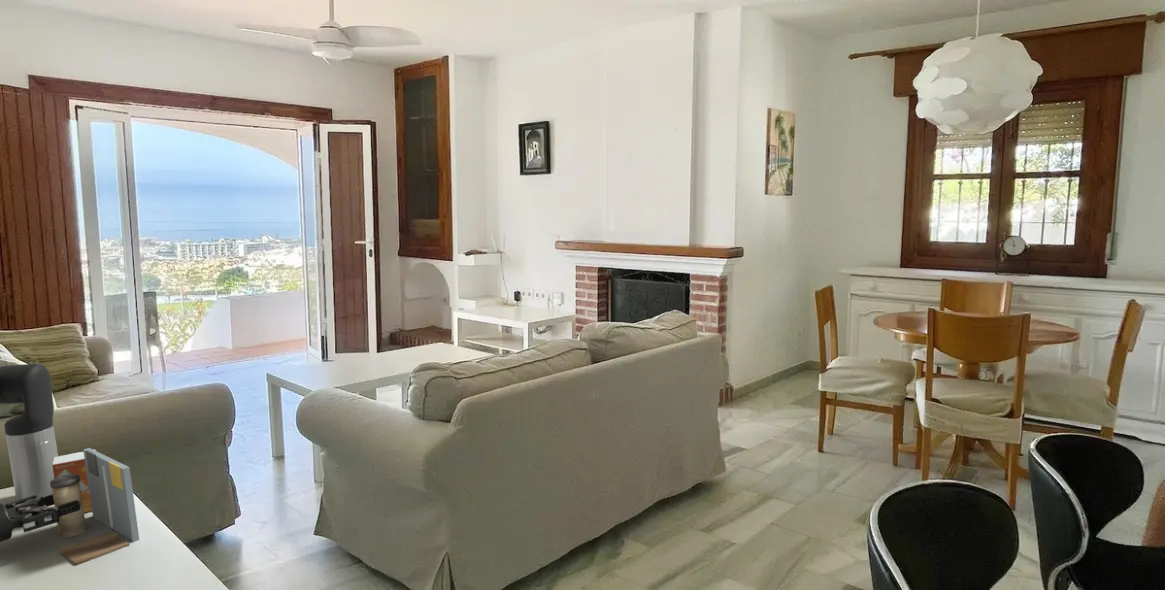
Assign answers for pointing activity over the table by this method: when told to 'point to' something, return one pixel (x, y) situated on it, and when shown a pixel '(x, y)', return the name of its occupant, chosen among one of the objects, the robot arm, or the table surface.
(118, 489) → the panel
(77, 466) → the small box
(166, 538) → the table surface
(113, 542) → the walnut pad
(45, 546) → the table surface
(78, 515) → the post
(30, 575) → the table surface
